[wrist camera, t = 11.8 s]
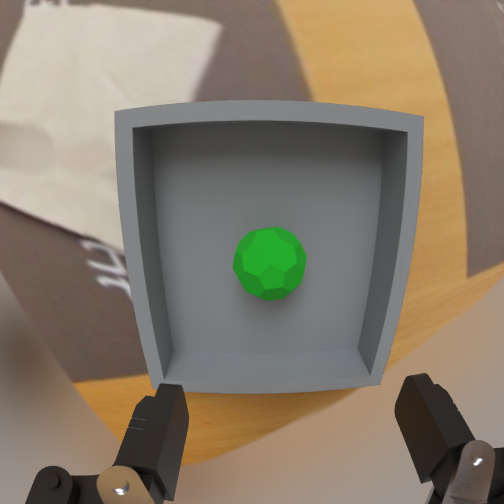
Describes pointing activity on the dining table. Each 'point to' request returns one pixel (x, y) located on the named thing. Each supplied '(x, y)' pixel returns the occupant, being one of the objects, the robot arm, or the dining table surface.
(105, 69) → the dining table surface
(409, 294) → the dining table surface
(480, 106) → the dining table surface
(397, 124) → the crate
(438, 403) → the robot arm
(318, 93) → the dining table surface
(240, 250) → the polyhedron
